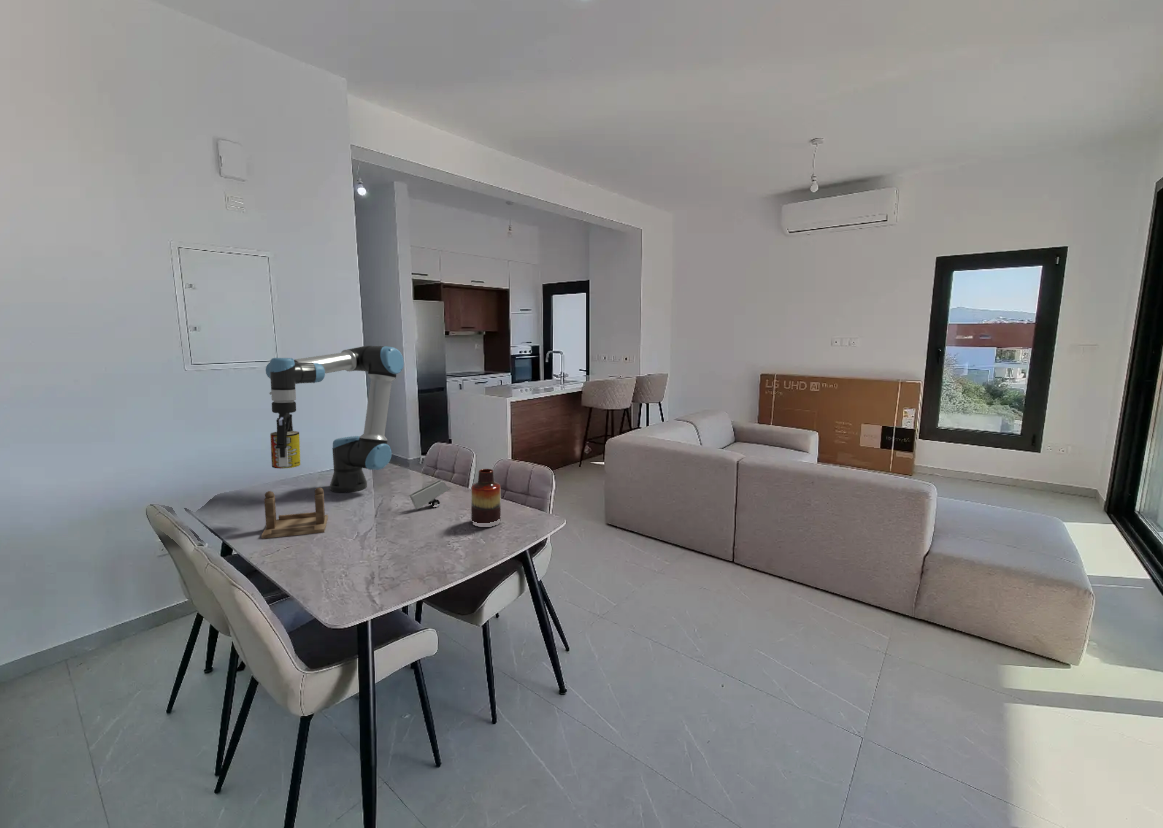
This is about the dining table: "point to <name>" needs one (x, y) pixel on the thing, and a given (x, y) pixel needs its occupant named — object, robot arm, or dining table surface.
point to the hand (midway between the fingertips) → (286, 462)
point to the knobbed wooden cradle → (294, 519)
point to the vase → (485, 498)
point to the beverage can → (292, 448)
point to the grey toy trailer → (428, 494)
